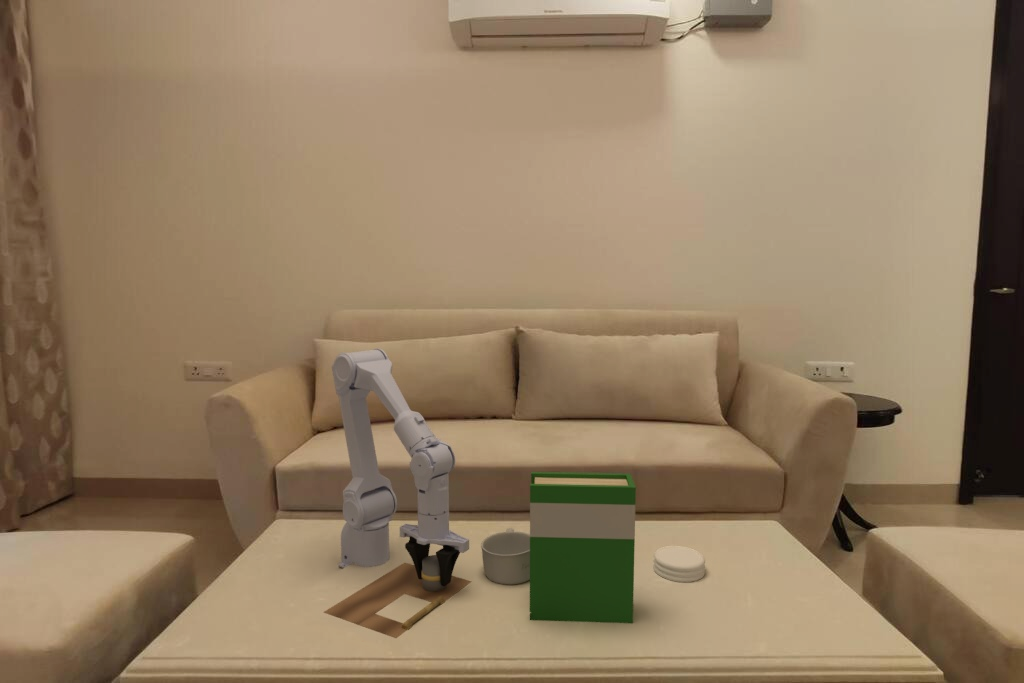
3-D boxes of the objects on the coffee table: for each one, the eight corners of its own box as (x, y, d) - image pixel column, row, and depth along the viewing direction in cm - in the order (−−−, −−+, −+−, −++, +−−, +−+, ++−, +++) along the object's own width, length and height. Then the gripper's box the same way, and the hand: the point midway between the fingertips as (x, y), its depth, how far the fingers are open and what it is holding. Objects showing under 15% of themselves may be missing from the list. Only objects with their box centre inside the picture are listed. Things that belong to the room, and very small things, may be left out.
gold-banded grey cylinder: (416, 588, 121) (416, 562, 120) (431, 577, 125) (431, 552, 125) (437, 594, 119) (437, 568, 118) (451, 583, 123) (451, 558, 122)
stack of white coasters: (692, 588, 124) (693, 571, 124) (644, 573, 131) (645, 557, 130) (712, 569, 132) (712, 553, 132) (666, 556, 138) (666, 540, 138)
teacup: (532, 596, 121) (532, 555, 120) (475, 591, 123) (474, 550, 122) (543, 563, 135) (543, 526, 134) (492, 559, 137) (492, 522, 136)
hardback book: (529, 620, 113) (530, 485, 110) (530, 598, 120) (531, 471, 118) (632, 623, 112) (635, 487, 109) (627, 601, 119) (630, 473, 117)
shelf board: (323, 620, 113) (323, 606, 112) (405, 569, 132) (404, 557, 131) (396, 647, 105) (396, 632, 105) (472, 588, 124) (471, 576, 124)
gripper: (388, 509, 120) (389, 579, 122) (453, 524, 113) (454, 599, 115) (412, 497, 126) (413, 565, 128) (475, 511, 119) (475, 582, 121)
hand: (434, 580), depth 122 cm, fingers closed on gold-banded grey cylinder, 5 cm apart
